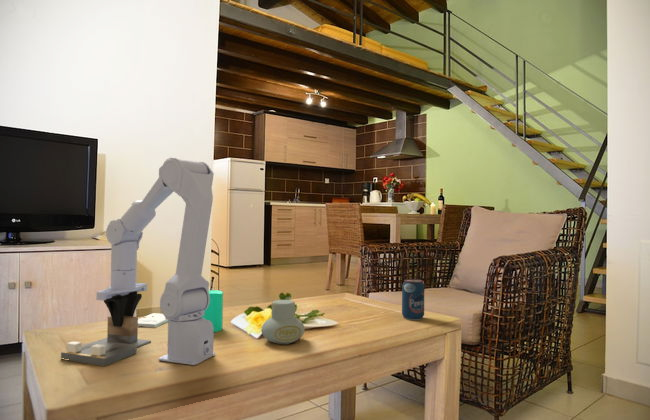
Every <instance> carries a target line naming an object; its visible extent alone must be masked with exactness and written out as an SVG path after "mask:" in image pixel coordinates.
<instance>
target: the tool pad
mask: <svg viewBox="0 0 650 420" xmlns="http://www.w3.org/2000/svg"><path fill="white" fill-rule="evenodd" d="M151 341H152V340H149V339H142V338H141V339H140V338H137V342H135V343H132V344H126V343H118V342H110V341H107V337H105V338H101V339H97V340H95V341H94V342H102V343H110V344H117V345H125V346H133V347H136V349H137V348H140V347H142V346H145V345H147V344H150V343H151Z"/></svg>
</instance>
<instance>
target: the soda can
mask: <svg viewBox="0 0 650 420" xmlns="http://www.w3.org/2000/svg"><path fill="white" fill-rule="evenodd" d="M403 281H404V282H403V283H402V286H401V289H402V290H401V315H402V316H403V318H404V320H408V321H421V320H422V319H423V318H424V317H425V284H424V281H423V279H418V278H406V279H404V280H403Z"/></svg>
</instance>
